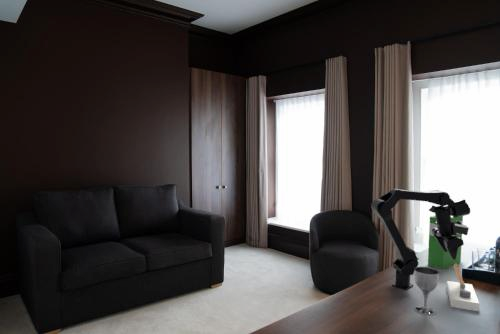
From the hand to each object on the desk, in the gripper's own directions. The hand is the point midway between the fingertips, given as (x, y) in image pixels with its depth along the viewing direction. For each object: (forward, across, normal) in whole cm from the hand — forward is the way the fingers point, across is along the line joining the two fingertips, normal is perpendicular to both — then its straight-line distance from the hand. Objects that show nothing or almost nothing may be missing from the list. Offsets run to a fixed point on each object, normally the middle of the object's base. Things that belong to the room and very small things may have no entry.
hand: (450, 255), depth 158 cm
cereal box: (+16, +28, -5) cm, 33 cm away
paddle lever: (+8, -10, 0) cm, 13 cm away
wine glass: (+8, -27, +20) cm, 34 cm away
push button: (+8, -19, +3) cm, 21 cm away
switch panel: (+12, -14, +2) cm, 19 cm away
